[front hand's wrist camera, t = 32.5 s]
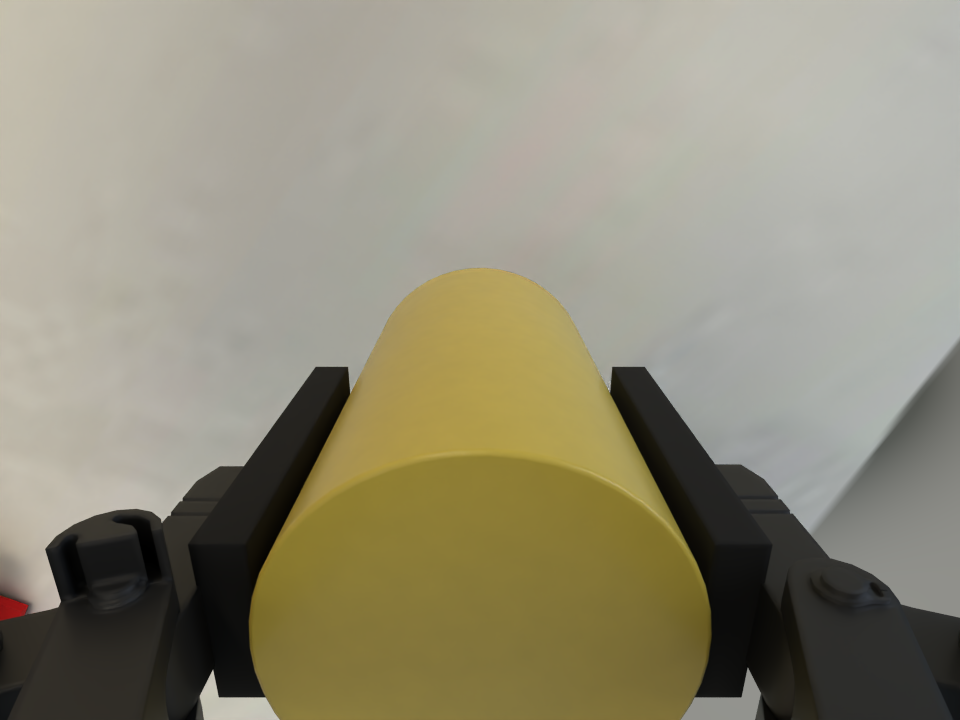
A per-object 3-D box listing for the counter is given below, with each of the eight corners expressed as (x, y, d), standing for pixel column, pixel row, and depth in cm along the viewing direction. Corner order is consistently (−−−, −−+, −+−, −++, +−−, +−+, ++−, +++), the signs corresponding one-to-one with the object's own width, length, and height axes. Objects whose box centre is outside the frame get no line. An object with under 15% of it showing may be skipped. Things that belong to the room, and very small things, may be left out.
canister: (608, 425, 18) (755, 752, 9) (423, 484, 19) (363, 850, 9) (546, 235, 16) (644, 379, 7) (342, 311, 17) (156, 541, 7)
